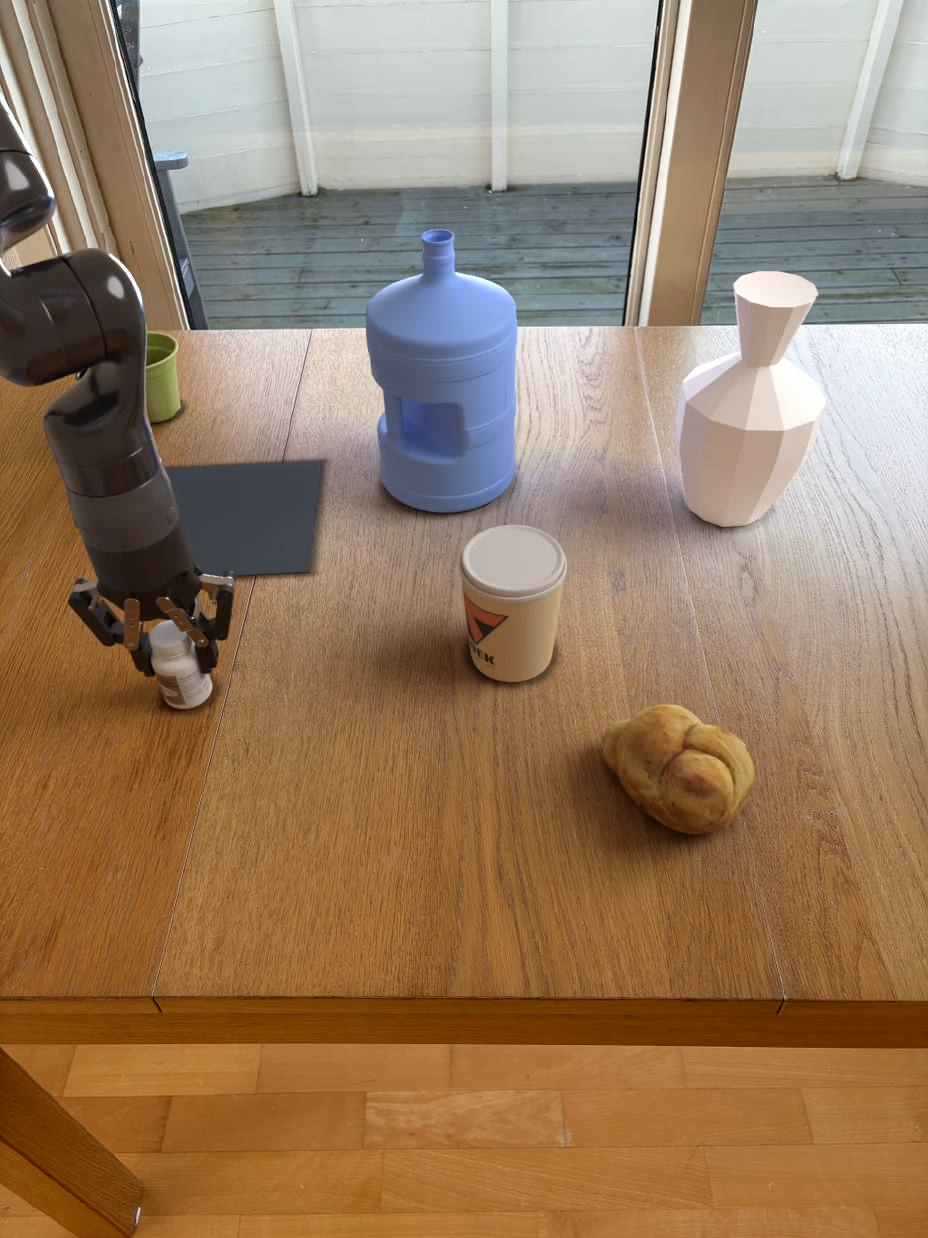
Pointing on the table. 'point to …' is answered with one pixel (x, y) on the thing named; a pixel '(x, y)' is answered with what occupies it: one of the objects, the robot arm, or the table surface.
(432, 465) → the water jug
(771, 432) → the vase
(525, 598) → the coffee cup
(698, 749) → the bread roll
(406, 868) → the table surface
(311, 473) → the mat
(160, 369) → the plant pot
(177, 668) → the pill bottle
